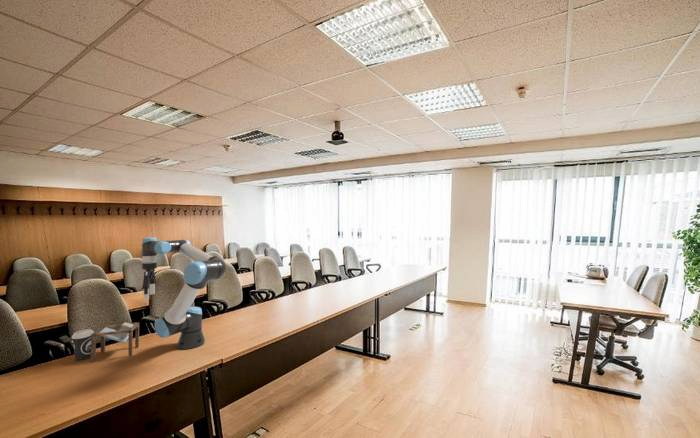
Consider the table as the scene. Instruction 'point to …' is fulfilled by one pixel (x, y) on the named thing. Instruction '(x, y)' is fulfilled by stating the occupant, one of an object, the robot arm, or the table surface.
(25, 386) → the table surface
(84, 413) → the table surface
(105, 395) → the table surface
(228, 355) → the table surface
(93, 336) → the hatch frame
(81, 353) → the coffee cup
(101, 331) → the hatch
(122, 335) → the stone
